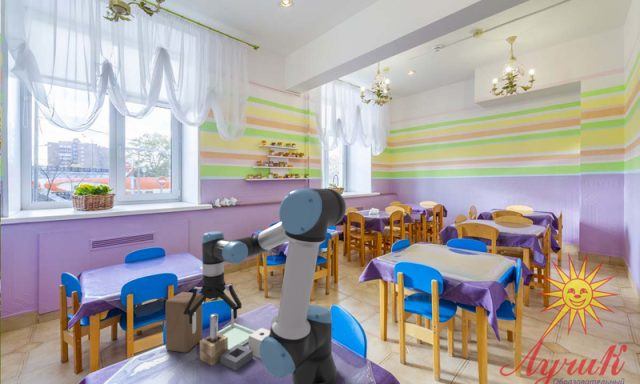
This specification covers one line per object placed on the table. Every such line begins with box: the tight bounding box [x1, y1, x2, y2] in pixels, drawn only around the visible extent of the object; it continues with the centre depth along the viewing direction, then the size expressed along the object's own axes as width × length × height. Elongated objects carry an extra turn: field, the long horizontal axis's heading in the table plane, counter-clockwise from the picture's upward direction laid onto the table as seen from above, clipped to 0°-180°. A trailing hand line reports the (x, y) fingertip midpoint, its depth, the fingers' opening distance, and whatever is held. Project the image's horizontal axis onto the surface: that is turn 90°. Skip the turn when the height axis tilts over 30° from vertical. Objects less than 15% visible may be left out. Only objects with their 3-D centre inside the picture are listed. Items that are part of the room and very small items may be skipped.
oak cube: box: [199, 333, 228, 366], centre depth 101 cm, size 7×7×7 cm
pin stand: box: [220, 344, 254, 372], centre depth 99 cm, size 8×8×3 cm
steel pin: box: [209, 313, 219, 343], centre depth 101 cm, size 3×3×16 cm
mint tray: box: [218, 322, 256, 350], centre depth 113 cm, size 15×15×2 cm
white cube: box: [248, 327, 270, 360], centre depth 105 cm, size 7×7×7 cm
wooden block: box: [165, 291, 203, 353], centre depth 109 cm, size 10×10×20 cm
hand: (213, 329), depth 101 cm, fingers open, 13 cm apart
